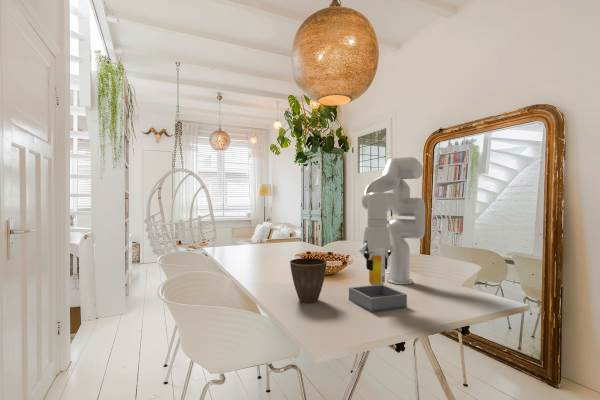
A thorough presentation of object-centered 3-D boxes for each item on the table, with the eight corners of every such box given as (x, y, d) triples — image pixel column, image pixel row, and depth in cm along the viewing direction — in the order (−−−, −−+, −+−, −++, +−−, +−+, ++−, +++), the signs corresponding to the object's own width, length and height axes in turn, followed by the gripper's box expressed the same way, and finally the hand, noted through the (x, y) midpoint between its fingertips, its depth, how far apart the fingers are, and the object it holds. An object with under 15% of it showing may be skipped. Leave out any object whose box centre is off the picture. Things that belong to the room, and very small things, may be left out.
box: (348, 299, 131) (348, 287, 131) (381, 295, 136) (381, 284, 136) (371, 312, 116) (371, 298, 116) (406, 307, 122) (406, 294, 122)
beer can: (373, 281, 130) (373, 244, 130) (387, 284, 126) (387, 246, 126) (366, 284, 125) (366, 246, 126) (380, 287, 122) (380, 247, 122)
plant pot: (304, 309, 119) (304, 266, 119) (282, 299, 131) (282, 260, 131) (334, 302, 128) (334, 262, 128) (311, 293, 140) (311, 256, 140)
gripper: (389, 222, 133) (389, 266, 133) (353, 223, 126) (352, 268, 126) (401, 223, 126) (400, 269, 126) (363, 224, 119) (363, 272, 119)
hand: (376, 268), depth 126 cm, fingers closed on beer can, 6 cm apart
